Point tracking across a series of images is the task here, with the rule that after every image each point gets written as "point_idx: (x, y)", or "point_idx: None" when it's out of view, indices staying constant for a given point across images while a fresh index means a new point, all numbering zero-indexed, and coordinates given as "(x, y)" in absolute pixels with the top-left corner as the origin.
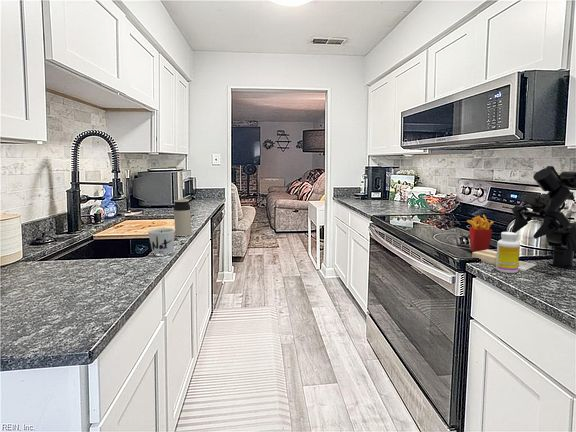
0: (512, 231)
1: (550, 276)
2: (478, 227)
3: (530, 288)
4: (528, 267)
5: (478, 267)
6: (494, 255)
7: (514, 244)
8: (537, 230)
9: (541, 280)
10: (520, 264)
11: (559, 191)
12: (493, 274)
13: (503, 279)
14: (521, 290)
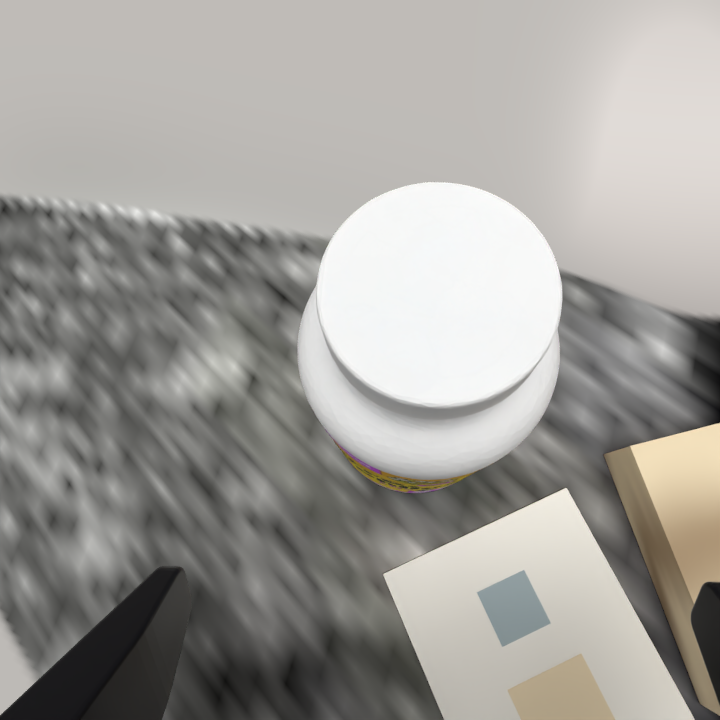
0: (706, 588)
1: None
2: None
3: (65, 275)
4: (434, 666)
5: None
6: (711, 507)
7: (303, 320)
8: (95, 681)
9: (141, 468)
10: (538, 677)
11: None
12: None
13: (254, 251)
14: (66, 207)
